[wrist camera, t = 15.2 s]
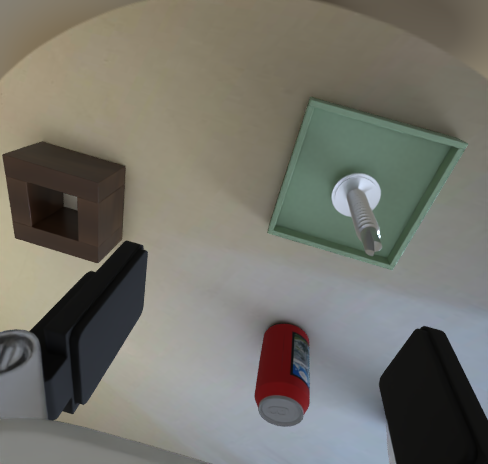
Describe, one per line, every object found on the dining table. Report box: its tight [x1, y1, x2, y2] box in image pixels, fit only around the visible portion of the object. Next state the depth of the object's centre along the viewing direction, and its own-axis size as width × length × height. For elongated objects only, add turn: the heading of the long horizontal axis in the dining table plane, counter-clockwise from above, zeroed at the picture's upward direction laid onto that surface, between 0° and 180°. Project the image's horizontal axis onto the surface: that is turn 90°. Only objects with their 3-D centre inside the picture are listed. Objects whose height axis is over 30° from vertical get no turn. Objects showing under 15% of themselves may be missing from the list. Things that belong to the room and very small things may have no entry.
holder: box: [2, 142, 125, 263], centre depth 40 cm, size 11×11×6 cm
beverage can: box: [255, 324, 310, 426], centre depth 43 cm, size 7×7×12 cm
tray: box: [267, 97, 468, 270], centre depth 35 cm, size 15×15×2 cm
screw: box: [332, 173, 382, 256], centre depth 30 cm, size 13×5×5 cm
